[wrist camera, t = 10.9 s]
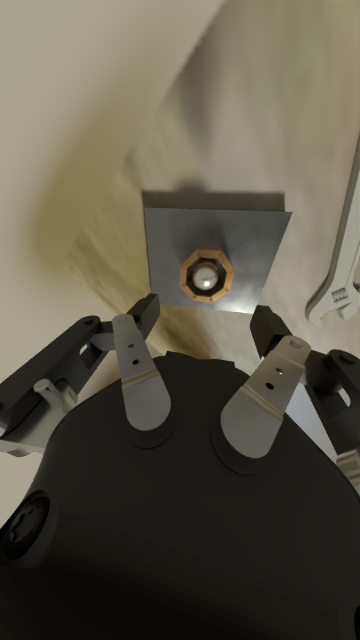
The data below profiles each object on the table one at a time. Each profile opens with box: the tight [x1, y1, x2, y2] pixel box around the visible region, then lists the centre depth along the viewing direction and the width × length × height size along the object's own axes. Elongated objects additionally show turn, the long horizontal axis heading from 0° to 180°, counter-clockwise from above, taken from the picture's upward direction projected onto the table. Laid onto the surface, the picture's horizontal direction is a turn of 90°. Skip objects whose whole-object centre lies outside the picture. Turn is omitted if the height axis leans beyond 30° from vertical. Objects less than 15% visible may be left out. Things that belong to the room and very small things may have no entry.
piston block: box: [144, 208, 292, 314], centre depth 20 cm, size 18×14×8 cm
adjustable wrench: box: [305, 138, 360, 328], centre depth 19 cm, size 25×6×2 cm, turn 13°
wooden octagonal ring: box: [180, 243, 235, 303], centre depth 20 cm, size 6×6×5 cm
